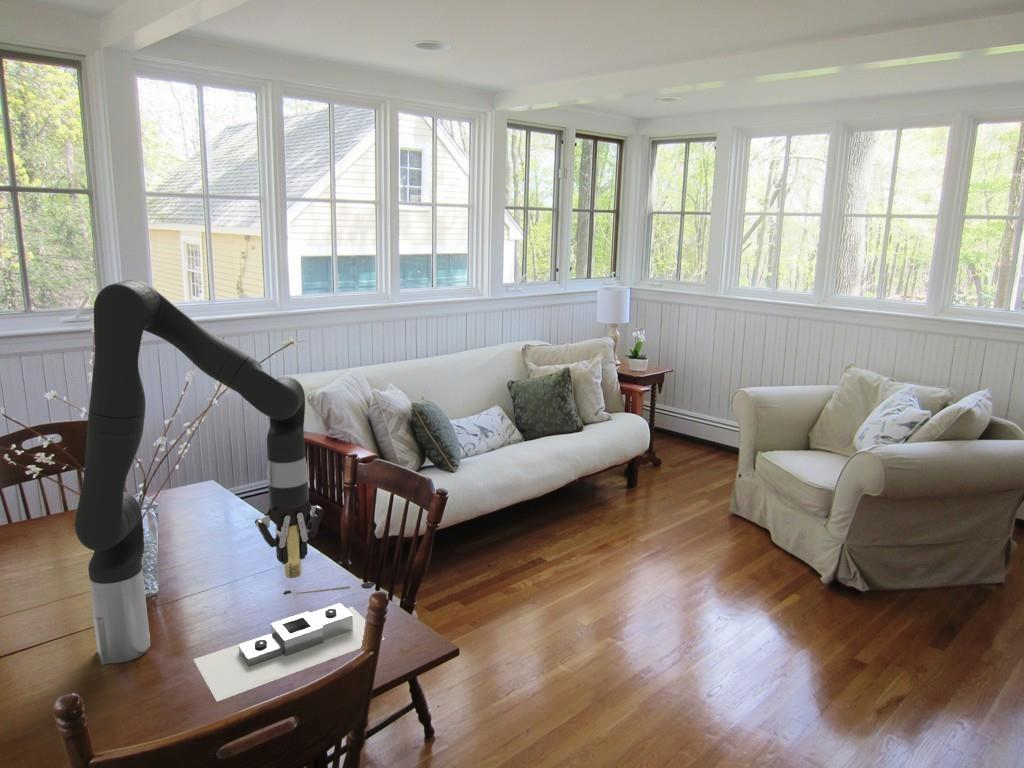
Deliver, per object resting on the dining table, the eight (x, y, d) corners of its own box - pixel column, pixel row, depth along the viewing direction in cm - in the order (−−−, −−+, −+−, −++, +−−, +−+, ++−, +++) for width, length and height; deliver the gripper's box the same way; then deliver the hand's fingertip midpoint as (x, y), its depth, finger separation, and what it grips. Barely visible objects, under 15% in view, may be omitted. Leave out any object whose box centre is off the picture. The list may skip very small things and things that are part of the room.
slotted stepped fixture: (250, 669, 141) (248, 649, 140) (237, 650, 147) (236, 632, 146) (354, 631, 154) (353, 613, 153) (339, 616, 160) (338, 599, 159)
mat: (217, 704, 131) (216, 701, 131) (193, 661, 144) (193, 659, 144) (385, 641, 152) (385, 638, 152) (351, 608, 164) (351, 606, 164)
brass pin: (288, 579, 145) (285, 528, 142) (282, 573, 147) (279, 522, 145) (303, 575, 147) (301, 524, 144) (298, 569, 149) (295, 519, 147)
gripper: (258, 492, 135) (264, 577, 139) (329, 477, 144) (333, 557, 148) (245, 481, 141) (251, 562, 145) (314, 467, 149) (318, 544, 153)
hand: (292, 559), depth 146 cm, fingers closed on brass pin, 3 cm apart
